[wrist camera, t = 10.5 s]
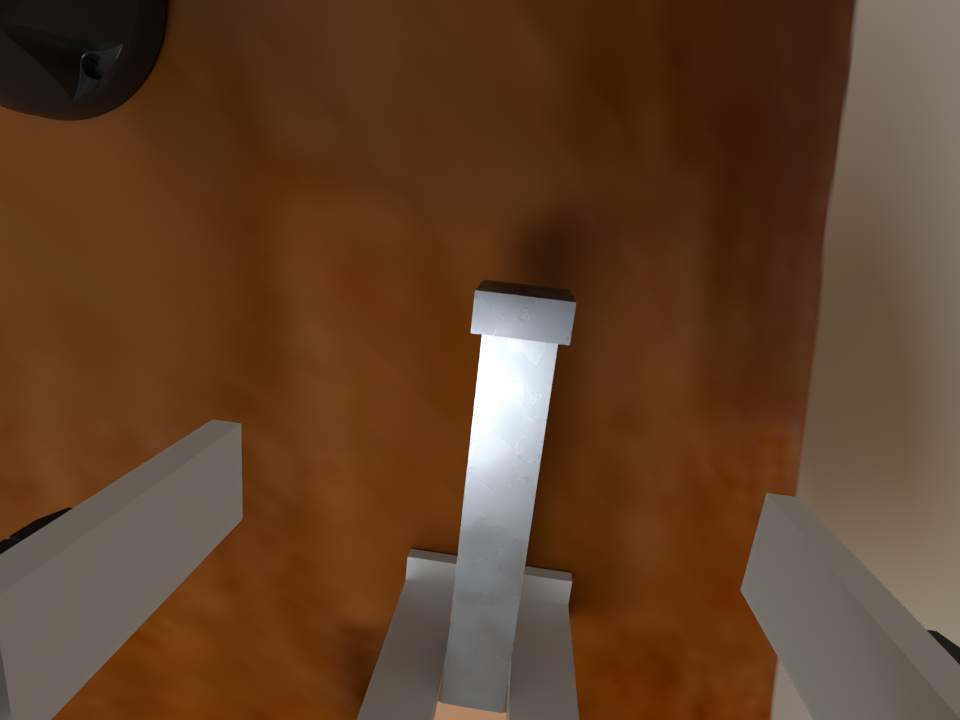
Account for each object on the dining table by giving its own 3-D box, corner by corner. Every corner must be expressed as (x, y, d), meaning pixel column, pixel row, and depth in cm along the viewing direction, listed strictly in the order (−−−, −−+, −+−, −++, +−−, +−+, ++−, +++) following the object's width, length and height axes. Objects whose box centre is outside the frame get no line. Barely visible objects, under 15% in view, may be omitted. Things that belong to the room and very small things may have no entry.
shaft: (483, 279, 29) (475, 290, 25) (569, 289, 29) (576, 302, 24) (443, 647, 35) (431, 709, 31) (513, 658, 35) (511, 722, 31)
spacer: (424, 698, 35) (418, 758, 36) (516, 714, 35) (506, 773, 36) (439, 631, 41) (433, 684, 42) (518, 643, 41) (510, 697, 42)
